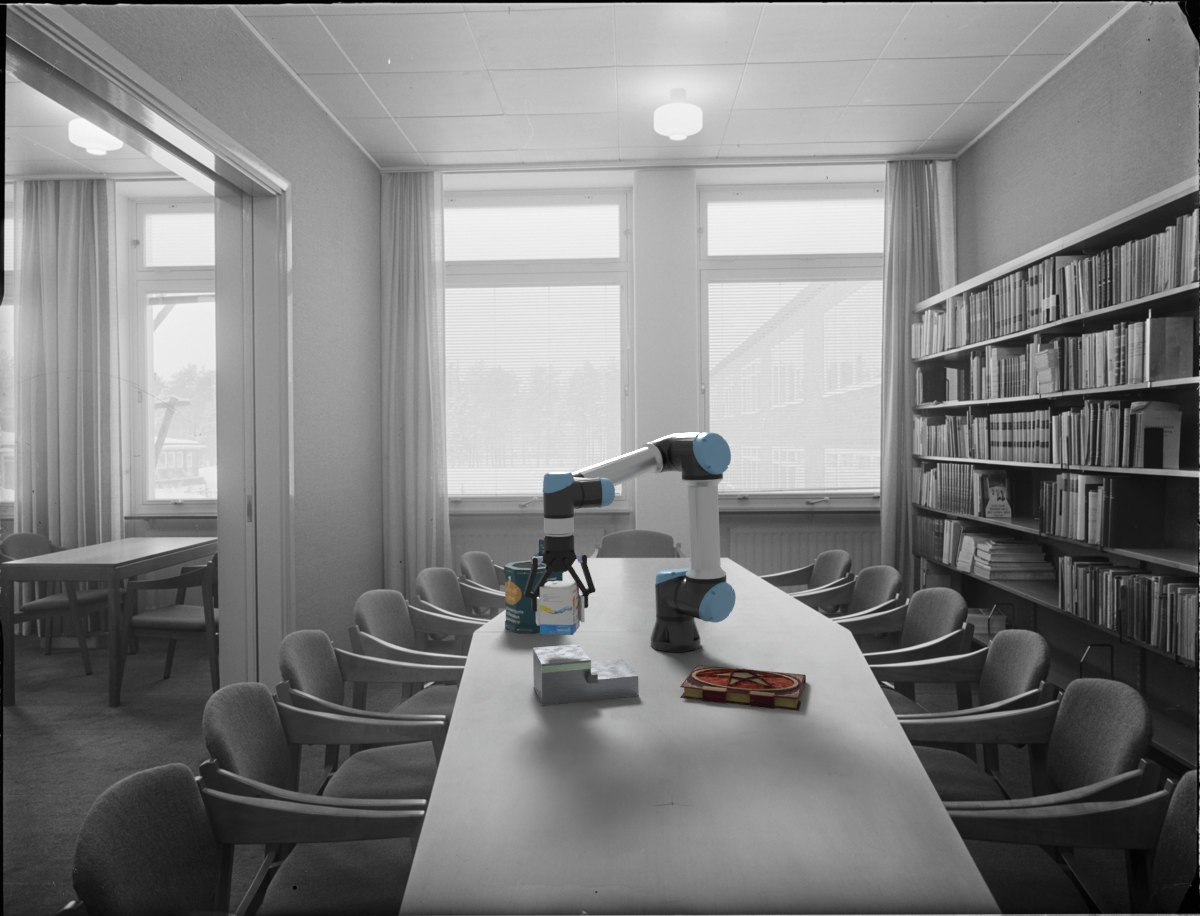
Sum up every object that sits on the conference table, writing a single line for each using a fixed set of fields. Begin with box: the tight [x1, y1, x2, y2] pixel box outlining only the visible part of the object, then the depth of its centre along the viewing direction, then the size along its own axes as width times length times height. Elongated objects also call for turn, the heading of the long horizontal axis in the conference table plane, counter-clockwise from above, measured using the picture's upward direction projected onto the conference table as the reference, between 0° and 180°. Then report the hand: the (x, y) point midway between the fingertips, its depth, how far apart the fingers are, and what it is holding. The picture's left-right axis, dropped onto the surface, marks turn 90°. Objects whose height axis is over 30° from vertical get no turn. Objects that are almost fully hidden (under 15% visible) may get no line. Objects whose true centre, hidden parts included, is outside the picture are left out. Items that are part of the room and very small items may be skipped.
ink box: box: [539, 580, 581, 636], centre depth 186 cm, size 9×8×12 cm
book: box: [679, 664, 807, 711], centre depth 187 cm, size 28×21×5 cm
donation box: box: [503, 538, 565, 635], centre depth 250 cm, size 16×16×28 cm
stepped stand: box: [532, 643, 640, 707], centre depth 187 cm, size 24×16×10 cm
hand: (560, 622), depth 186 cm, fingers closed on ink box, 10 cm apart
